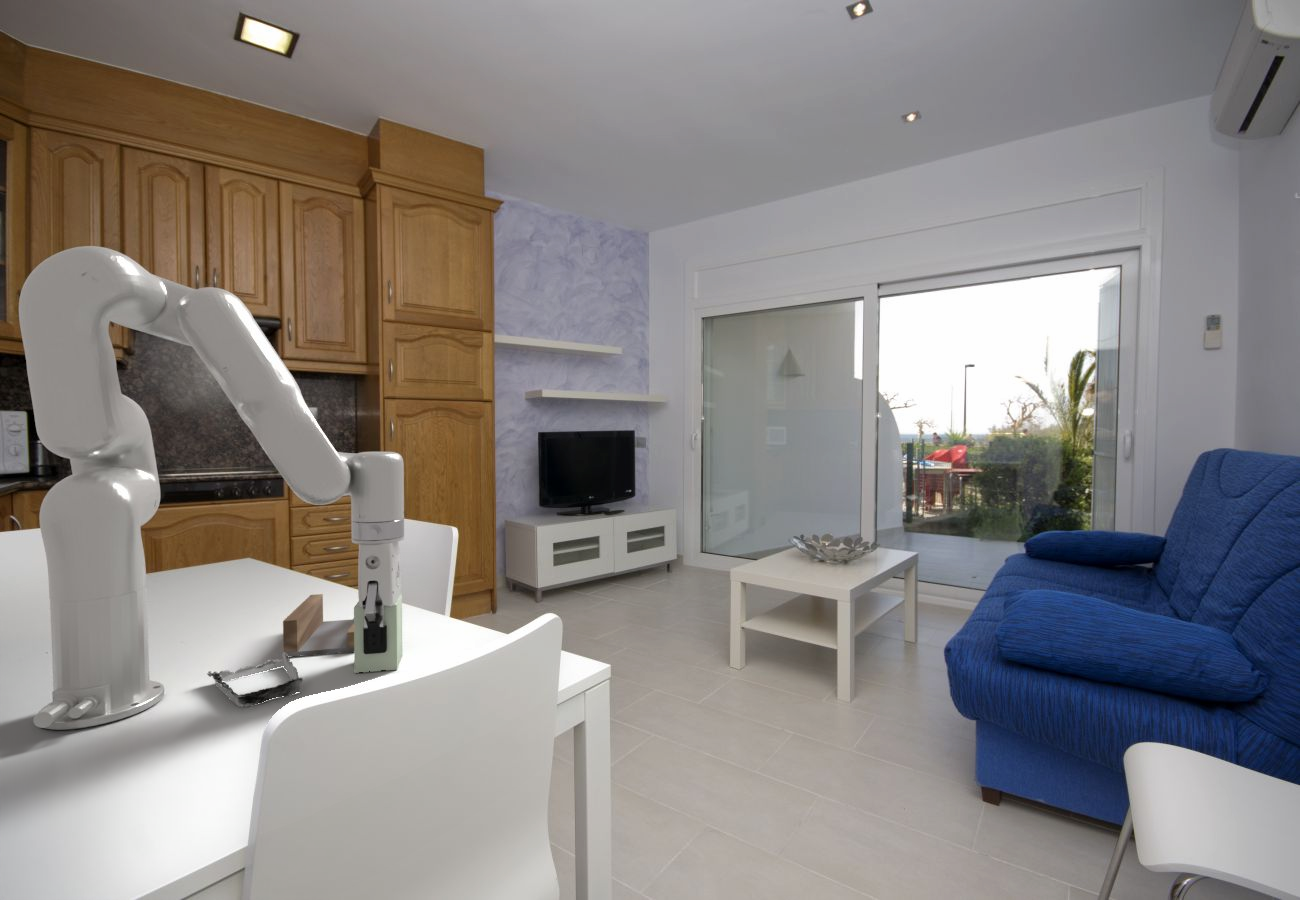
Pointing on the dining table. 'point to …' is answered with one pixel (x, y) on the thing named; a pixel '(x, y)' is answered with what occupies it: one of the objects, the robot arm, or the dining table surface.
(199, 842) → the dining table surface
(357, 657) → the pale green tall block
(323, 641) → the cleat board
